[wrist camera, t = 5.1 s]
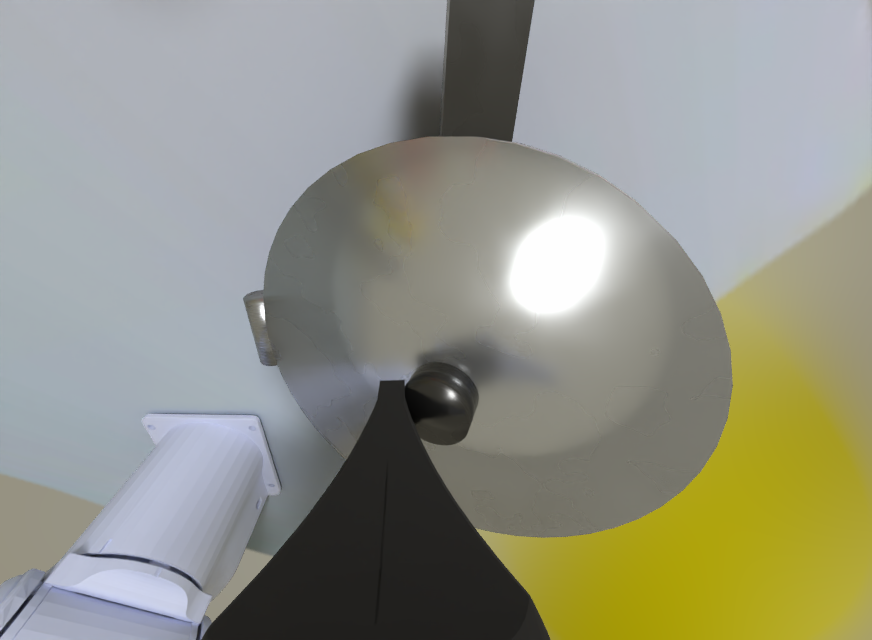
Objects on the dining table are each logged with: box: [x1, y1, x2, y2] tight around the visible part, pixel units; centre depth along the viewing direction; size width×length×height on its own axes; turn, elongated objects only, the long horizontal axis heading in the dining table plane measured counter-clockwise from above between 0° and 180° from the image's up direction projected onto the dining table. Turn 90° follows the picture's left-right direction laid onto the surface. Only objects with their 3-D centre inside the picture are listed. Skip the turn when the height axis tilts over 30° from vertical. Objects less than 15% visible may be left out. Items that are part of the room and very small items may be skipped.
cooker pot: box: [439, 0, 534, 142], centre depth 15 cm, size 20×14×5 cm
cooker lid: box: [243, 137, 733, 537], centre depth 11 cm, size 15×16×2 cm
